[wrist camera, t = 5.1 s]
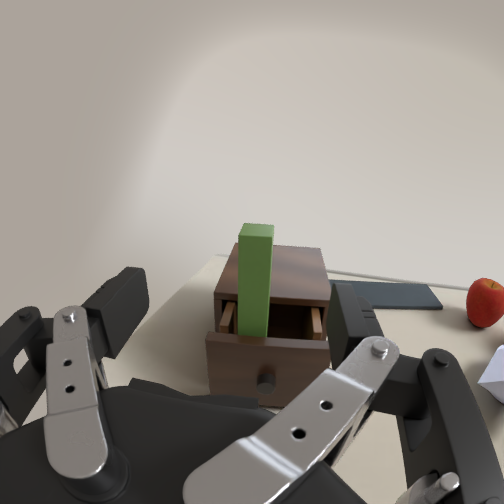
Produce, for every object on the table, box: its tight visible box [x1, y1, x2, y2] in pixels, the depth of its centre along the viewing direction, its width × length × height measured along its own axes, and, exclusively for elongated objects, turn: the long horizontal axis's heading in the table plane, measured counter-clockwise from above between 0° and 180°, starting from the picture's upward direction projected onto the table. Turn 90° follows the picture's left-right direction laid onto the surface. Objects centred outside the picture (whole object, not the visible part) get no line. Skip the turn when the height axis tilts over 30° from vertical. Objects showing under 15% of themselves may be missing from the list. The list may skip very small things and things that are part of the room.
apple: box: [466, 278, 504, 327], centre depth 36 cm, size 8×8×8 cm
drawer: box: [205, 300, 331, 407], centre depth 30 cm, size 14×10×8 cm
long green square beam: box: [238, 223, 274, 337], centre depth 26 cm, size 2×3×15 cm
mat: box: [328, 279, 443, 309], centre depth 47 cm, size 22×8×1 cm, turn 84°
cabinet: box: [214, 243, 331, 341], centre depth 36 cm, size 14×12×10 cm
